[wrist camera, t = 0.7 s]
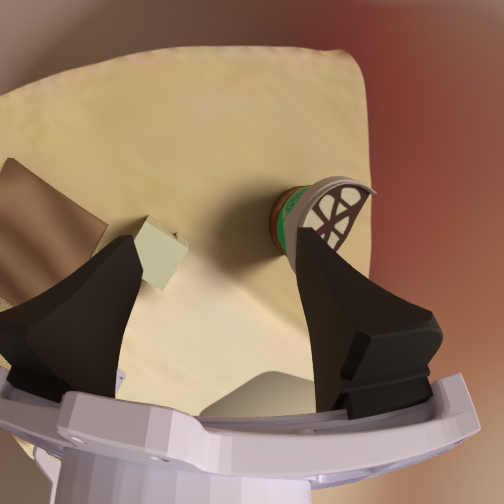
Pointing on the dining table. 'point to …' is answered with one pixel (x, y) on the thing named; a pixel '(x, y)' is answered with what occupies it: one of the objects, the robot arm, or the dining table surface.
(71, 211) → the serving board
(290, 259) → the food container
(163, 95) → the dining table surface
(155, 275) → the pale slotted block
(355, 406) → the robot arm
